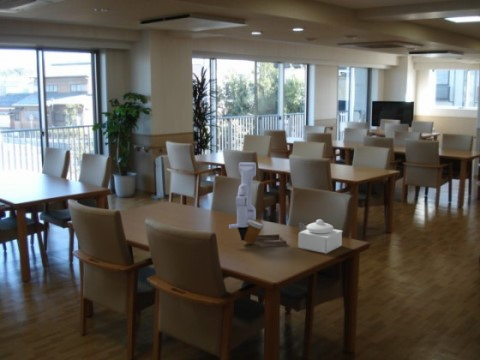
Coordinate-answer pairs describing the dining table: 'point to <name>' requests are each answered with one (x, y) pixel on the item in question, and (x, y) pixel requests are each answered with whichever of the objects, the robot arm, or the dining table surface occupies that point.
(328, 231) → the butter dish
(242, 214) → the robot arm
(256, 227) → the disposable coffee cup
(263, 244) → the cup holder
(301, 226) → the architectural model on board
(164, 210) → the dining table surface
